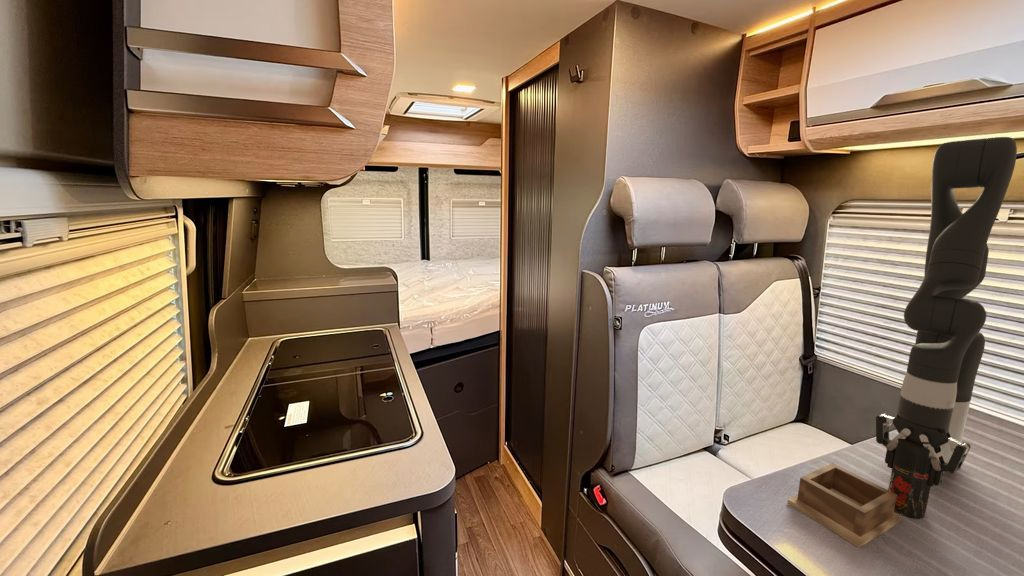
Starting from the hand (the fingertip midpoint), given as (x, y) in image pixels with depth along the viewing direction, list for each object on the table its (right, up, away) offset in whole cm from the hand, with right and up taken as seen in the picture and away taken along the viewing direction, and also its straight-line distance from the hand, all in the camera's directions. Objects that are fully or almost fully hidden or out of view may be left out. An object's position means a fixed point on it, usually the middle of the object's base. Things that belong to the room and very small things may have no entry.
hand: (911, 475), depth 86 cm
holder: (-13, -8, +1) cm, 15 cm away
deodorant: (0, -8, +2) cm, 8 cm away
